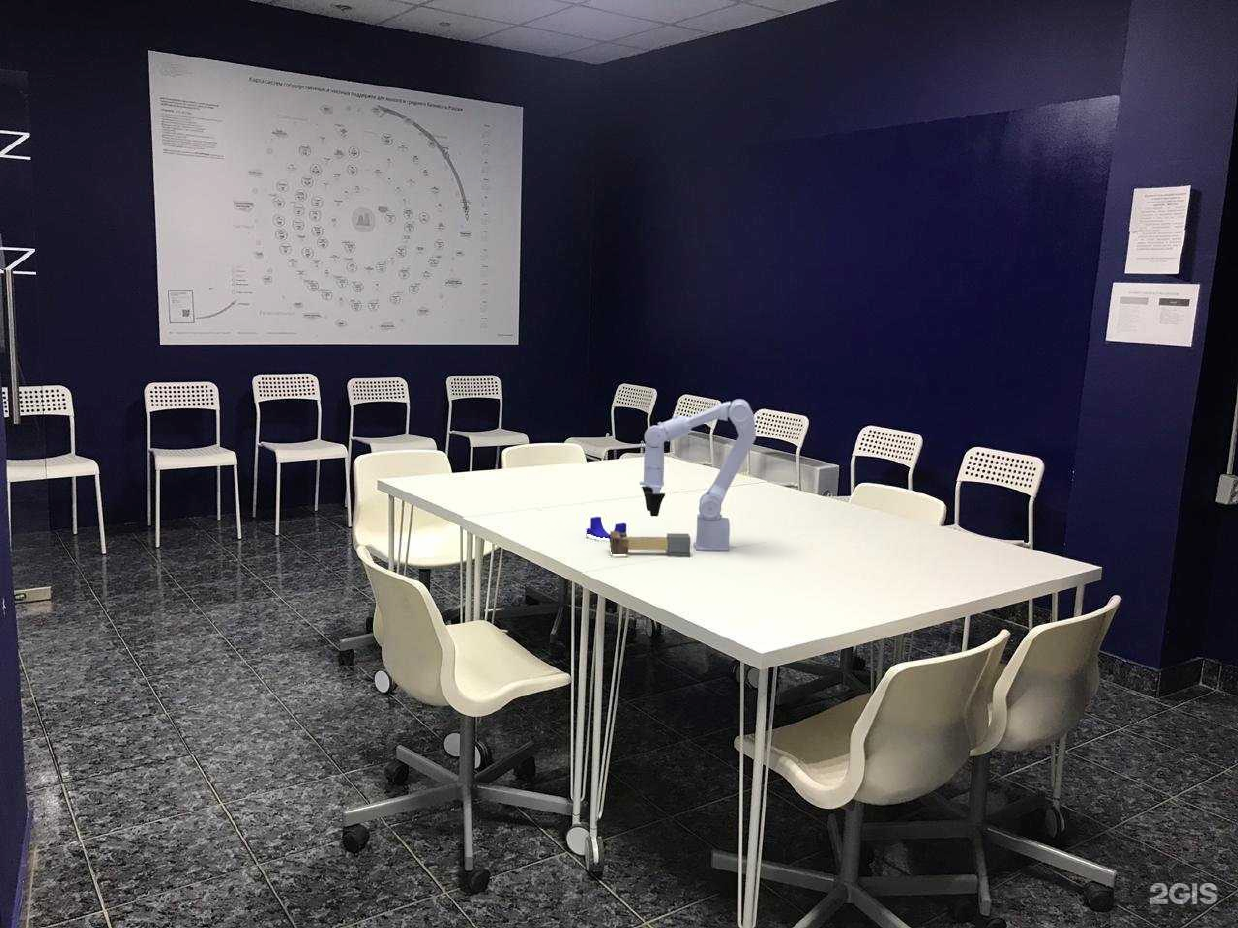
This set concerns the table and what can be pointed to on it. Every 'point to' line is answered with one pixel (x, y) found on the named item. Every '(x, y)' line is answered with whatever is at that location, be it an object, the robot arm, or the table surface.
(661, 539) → the tube
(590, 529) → the cable clip
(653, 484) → the robot arm
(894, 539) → the table surface
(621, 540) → the socket block
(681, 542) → the sleeve
